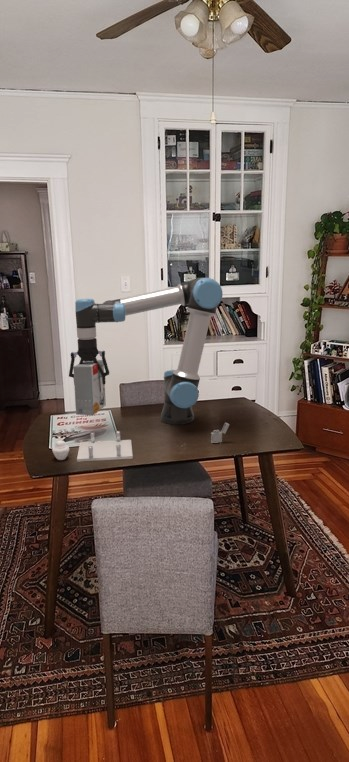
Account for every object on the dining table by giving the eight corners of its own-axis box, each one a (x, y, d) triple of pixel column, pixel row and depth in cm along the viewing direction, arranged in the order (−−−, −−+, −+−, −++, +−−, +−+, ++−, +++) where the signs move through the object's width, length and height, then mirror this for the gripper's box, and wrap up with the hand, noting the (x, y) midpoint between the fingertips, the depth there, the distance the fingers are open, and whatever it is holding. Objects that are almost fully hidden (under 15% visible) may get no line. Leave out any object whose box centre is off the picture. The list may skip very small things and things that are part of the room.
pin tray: (131, 442, 196) (130, 430, 194) (132, 458, 179) (132, 445, 177) (80, 444, 193) (79, 432, 192) (77, 461, 176) (76, 448, 175)
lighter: (212, 444, 192) (212, 424, 191) (210, 442, 194) (210, 423, 192) (229, 442, 194) (229, 423, 192) (227, 441, 196) (228, 422, 194)
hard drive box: (93, 416, 194) (90, 366, 190) (75, 415, 196) (71, 366, 191) (106, 405, 209) (103, 359, 204) (89, 404, 210) (86, 359, 206)
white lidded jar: (49, 460, 178) (48, 442, 176) (59, 454, 183) (57, 436, 182) (64, 462, 176) (62, 444, 174) (73, 456, 181) (72, 438, 180)
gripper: (114, 335, 200) (116, 389, 205) (60, 337, 198) (64, 391, 203) (114, 338, 193) (117, 393, 198) (58, 340, 191) (62, 396, 196)
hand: (90, 392), depth 201 cm, fingers closed on hard drive box, 9 cm apart
